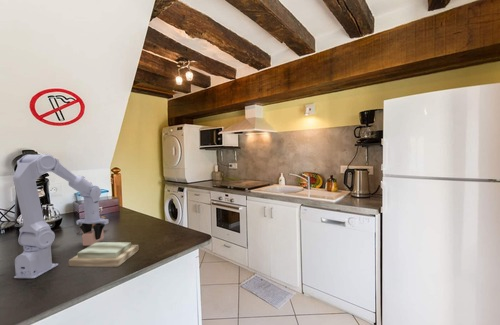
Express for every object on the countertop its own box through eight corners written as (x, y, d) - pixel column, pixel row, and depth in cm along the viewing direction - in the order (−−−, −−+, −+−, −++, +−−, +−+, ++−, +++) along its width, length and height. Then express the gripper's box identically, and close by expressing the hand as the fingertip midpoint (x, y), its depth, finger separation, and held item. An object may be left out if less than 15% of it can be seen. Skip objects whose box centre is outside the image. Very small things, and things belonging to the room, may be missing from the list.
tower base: (118, 266, 84) (117, 255, 84) (68, 266, 85) (68, 255, 85) (138, 250, 98) (138, 240, 98) (96, 250, 99) (95, 240, 99)
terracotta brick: (91, 245, 100) (90, 234, 100) (82, 245, 101) (82, 234, 100) (103, 238, 108) (103, 228, 108) (96, 238, 109) (95, 228, 108)
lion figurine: (108, 230, 125) (107, 214, 125) (105, 233, 120) (104, 217, 120) (78, 233, 121) (77, 217, 121) (73, 237, 116) (72, 220, 116)
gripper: (112, 208, 107) (113, 235, 108) (84, 208, 108) (85, 235, 109) (101, 212, 100) (103, 241, 101) (71, 212, 101) (73, 241, 102)
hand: (93, 238), depth 104 cm, fingers closed on terracotta brick, 4 cm apart
